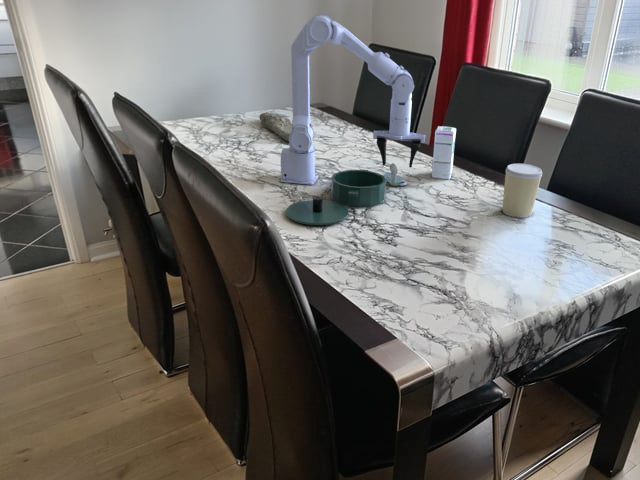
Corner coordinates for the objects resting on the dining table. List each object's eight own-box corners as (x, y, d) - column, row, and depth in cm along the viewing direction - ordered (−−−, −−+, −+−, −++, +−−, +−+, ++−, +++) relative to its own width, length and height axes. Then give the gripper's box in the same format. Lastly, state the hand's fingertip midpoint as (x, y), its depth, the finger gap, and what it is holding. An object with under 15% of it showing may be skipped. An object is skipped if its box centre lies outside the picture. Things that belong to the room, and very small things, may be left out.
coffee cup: (536, 209, 157) (544, 166, 151) (532, 221, 149) (541, 176, 143) (502, 203, 159) (509, 161, 153) (496, 215, 152) (503, 170, 146)
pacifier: (397, 179, 173) (380, 181, 170) (399, 158, 170) (382, 160, 167) (411, 186, 168) (394, 188, 165) (413, 165, 165) (396, 167, 162)
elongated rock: (284, 149, 198) (311, 148, 202) (285, 133, 195) (312, 133, 200) (253, 119, 223) (278, 119, 228) (253, 105, 220) (278, 105, 225)
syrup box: (449, 179, 175) (455, 131, 167) (430, 177, 175) (435, 129, 168) (451, 174, 180) (457, 127, 172) (433, 172, 180) (437, 125, 173)
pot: (324, 208, 149) (324, 188, 147) (338, 183, 167) (339, 165, 164) (380, 213, 148) (381, 193, 146) (388, 187, 166) (389, 169, 163)
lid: (278, 224, 139) (278, 206, 137) (295, 201, 152) (294, 184, 150) (342, 230, 138) (342, 212, 135) (353, 206, 151) (353, 190, 149)
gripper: (372, 118, 157) (370, 167, 163) (425, 122, 156) (421, 171, 162) (375, 113, 163) (373, 160, 169) (427, 117, 162) (422, 164, 168)
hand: (397, 165), depth 166 cm, fingers open, 7 cm apart
